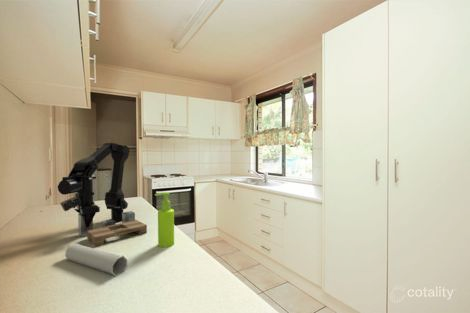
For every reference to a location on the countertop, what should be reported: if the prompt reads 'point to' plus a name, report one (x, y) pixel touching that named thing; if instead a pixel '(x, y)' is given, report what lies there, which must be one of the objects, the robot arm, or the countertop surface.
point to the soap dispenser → (165, 222)
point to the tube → (97, 259)
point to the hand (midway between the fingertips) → (85, 226)
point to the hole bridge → (106, 232)
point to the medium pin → (128, 216)
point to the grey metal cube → (108, 223)
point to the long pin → (83, 226)
